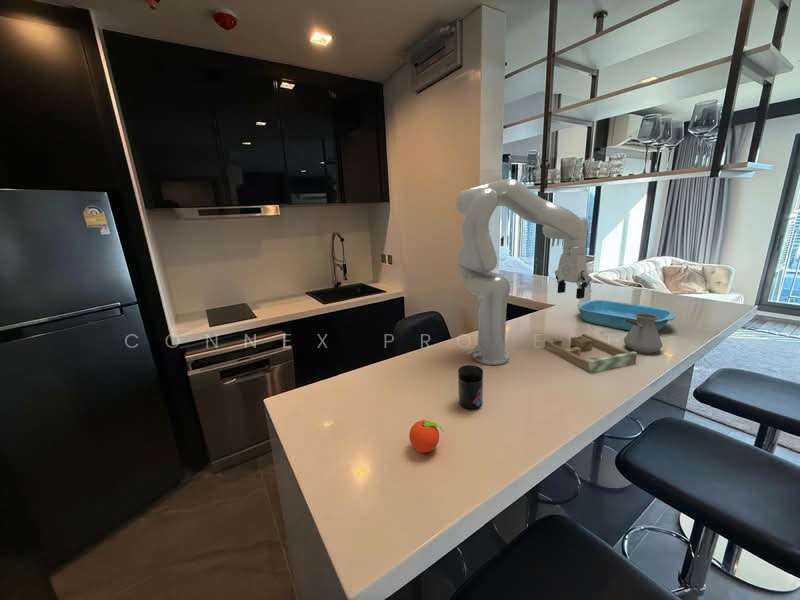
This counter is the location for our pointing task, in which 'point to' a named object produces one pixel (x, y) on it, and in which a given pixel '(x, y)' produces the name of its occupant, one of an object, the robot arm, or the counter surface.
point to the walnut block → (581, 343)
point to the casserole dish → (620, 313)
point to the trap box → (596, 363)
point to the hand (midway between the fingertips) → (570, 295)
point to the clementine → (424, 436)
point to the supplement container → (470, 386)
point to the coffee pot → (643, 334)
